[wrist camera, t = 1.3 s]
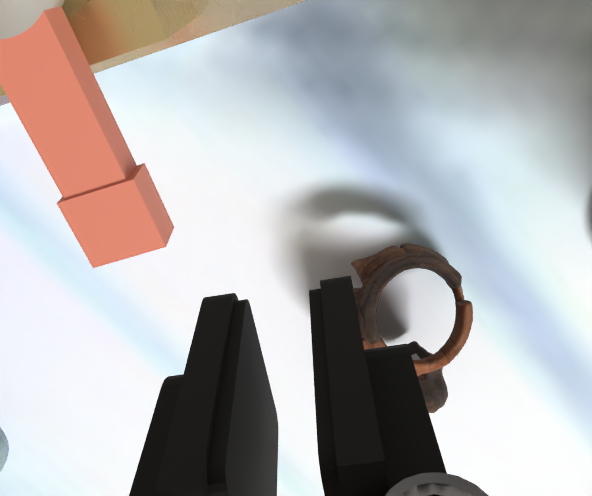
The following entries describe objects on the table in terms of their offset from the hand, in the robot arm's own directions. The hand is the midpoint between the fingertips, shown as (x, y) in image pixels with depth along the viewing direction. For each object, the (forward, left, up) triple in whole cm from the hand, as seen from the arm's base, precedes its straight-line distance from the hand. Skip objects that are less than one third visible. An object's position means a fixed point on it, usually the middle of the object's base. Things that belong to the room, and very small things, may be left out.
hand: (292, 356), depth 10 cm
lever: (+8, -4, -14) cm, 16 cm away
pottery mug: (-2, +17, -25) cm, 31 cm away
